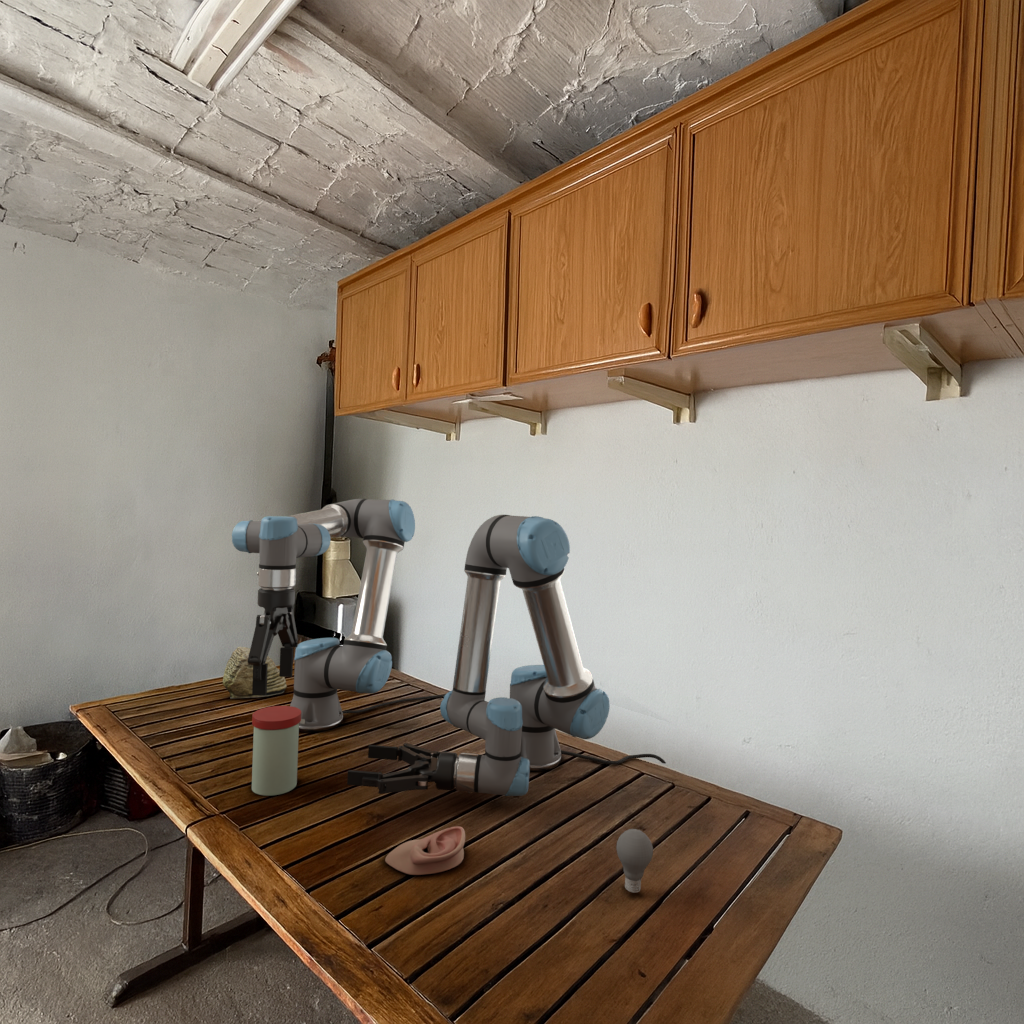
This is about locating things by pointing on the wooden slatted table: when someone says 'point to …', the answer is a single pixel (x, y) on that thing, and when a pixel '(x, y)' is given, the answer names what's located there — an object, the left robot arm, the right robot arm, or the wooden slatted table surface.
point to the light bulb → (634, 857)
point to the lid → (276, 717)
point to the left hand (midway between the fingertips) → (273, 685)
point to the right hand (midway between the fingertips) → (358, 763)
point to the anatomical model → (429, 853)
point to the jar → (275, 760)
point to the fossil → (249, 676)
